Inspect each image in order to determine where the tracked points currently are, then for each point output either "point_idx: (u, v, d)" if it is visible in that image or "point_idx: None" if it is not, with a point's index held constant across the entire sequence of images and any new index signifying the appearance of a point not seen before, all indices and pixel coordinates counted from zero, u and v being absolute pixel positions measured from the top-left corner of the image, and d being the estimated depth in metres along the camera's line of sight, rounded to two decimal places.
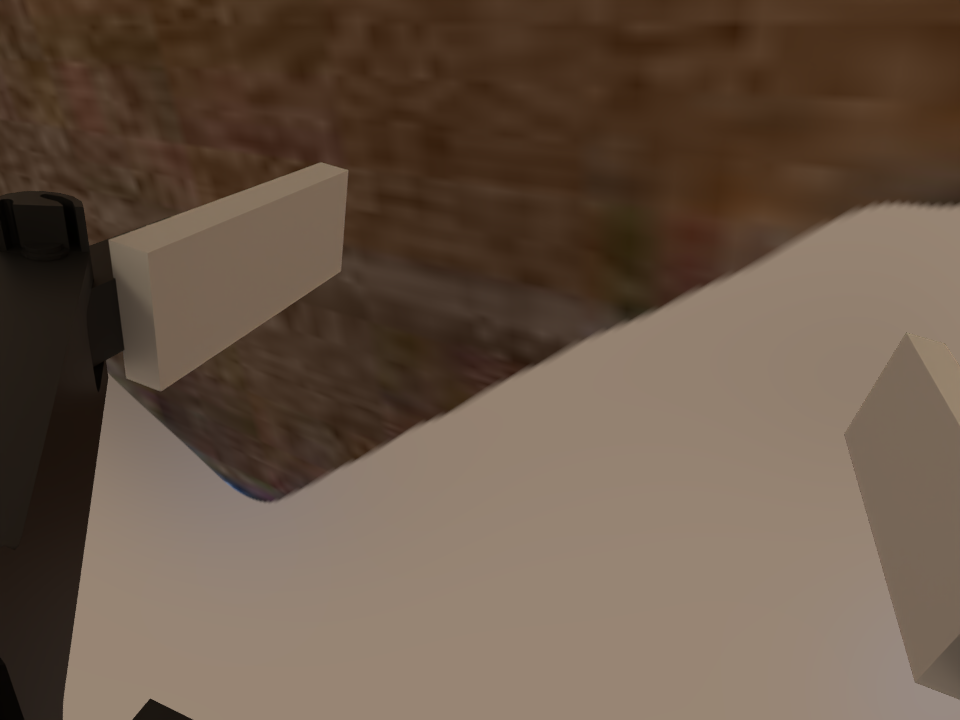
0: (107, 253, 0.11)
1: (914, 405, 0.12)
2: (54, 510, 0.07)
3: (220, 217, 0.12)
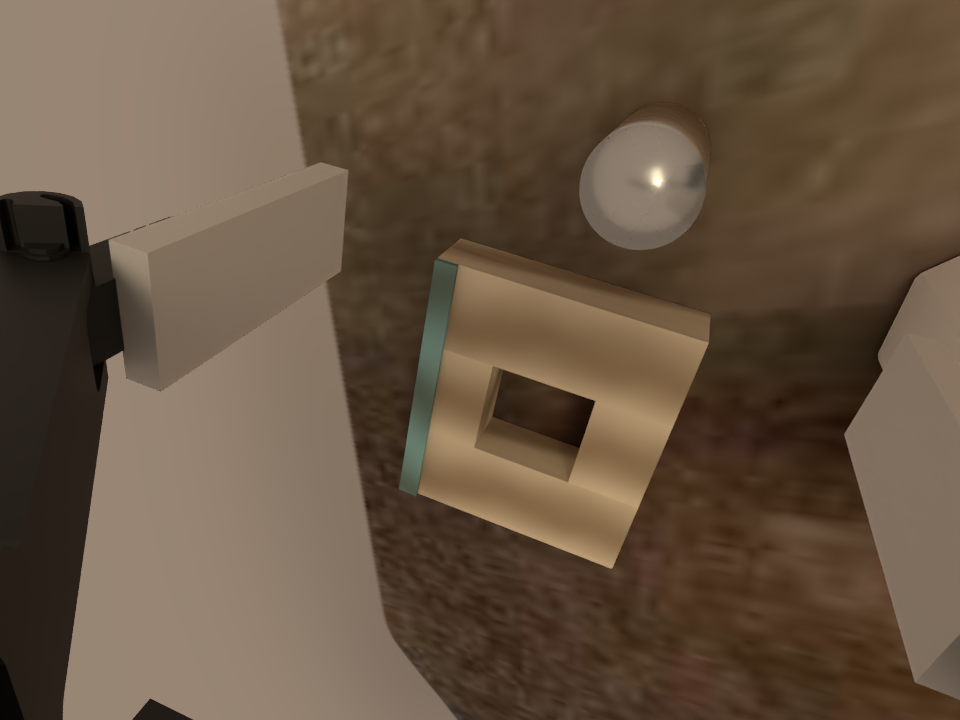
0: (107, 253, 0.11)
1: (914, 405, 0.12)
2: (54, 510, 0.07)
3: (220, 217, 0.12)
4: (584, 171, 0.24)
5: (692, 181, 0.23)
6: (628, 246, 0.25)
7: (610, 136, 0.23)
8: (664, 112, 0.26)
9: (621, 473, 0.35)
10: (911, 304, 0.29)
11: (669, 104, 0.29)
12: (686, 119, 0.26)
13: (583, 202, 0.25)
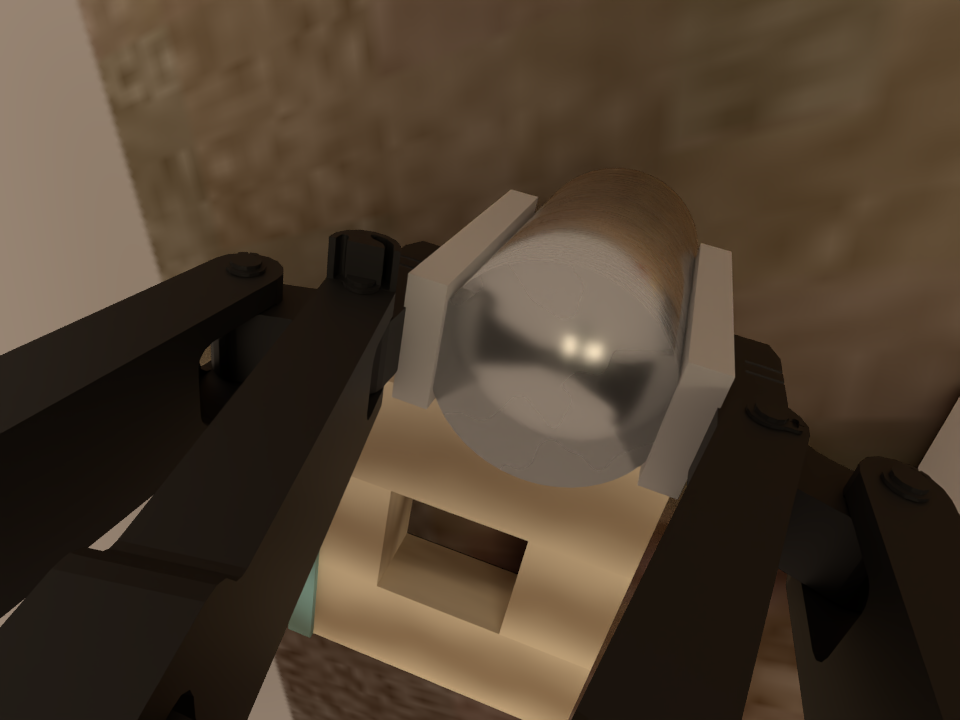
0: None
1: None
2: (290, 537, 0.07)
3: (475, 248, 0.13)
4: None
5: (650, 382, 0.11)
6: (525, 476, 0.13)
7: (483, 276, 0.11)
8: (611, 205, 0.14)
9: (567, 628, 0.26)
10: None
11: (628, 176, 0.16)
12: (652, 218, 0.14)
13: (438, 389, 0.12)
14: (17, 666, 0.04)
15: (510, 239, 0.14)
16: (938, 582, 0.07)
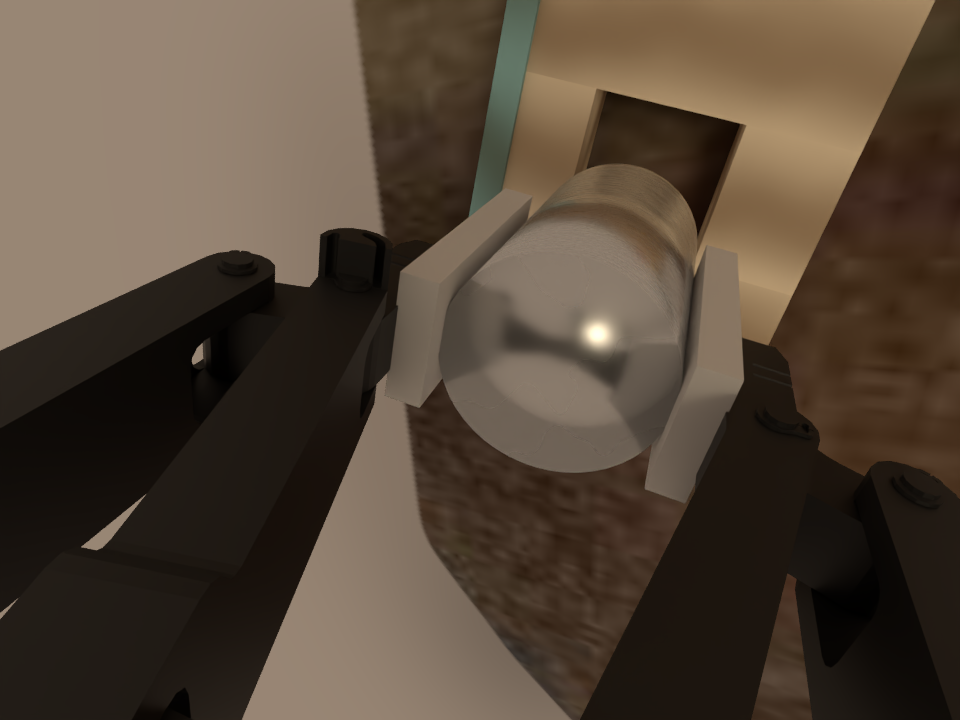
0: None
1: (694, 297, 0.14)
2: (284, 535, 0.07)
3: (468, 246, 0.13)
4: (446, 325, 0.12)
5: (654, 368, 0.11)
6: (532, 462, 0.13)
7: (492, 267, 0.11)
8: (614, 199, 0.14)
9: (773, 241, 0.25)
10: None
11: (629, 171, 0.17)
12: (654, 212, 0.14)
13: (447, 378, 0.13)
14: (12, 666, 0.04)
15: (516, 232, 0.14)
16: (950, 588, 0.07)
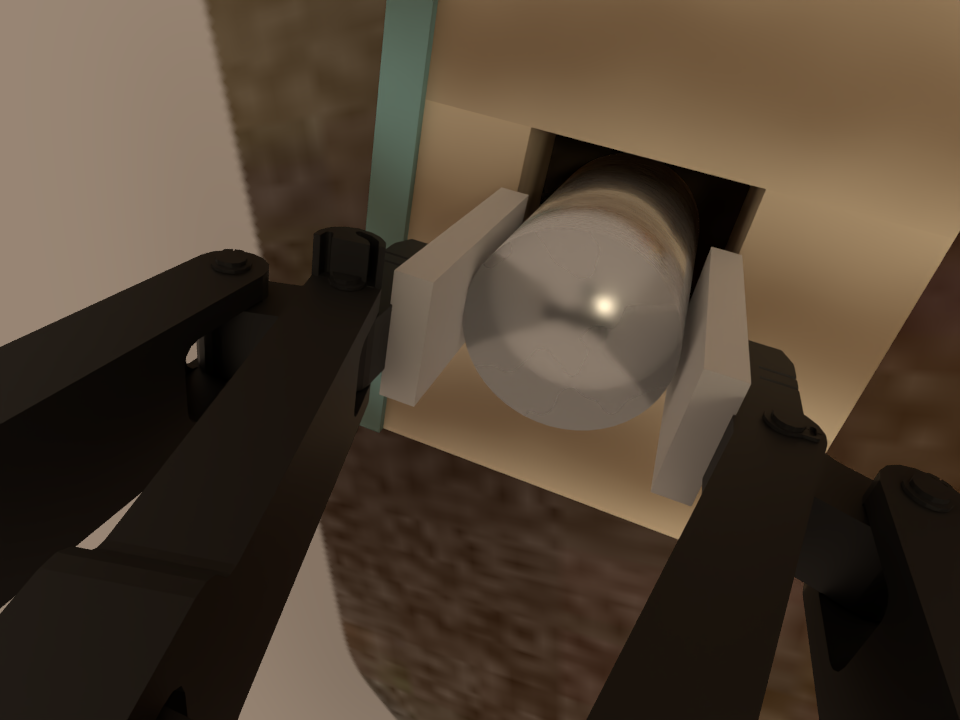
0: None
1: (699, 298, 0.14)
2: (279, 534, 0.07)
3: (463, 245, 0.13)
4: (470, 296, 0.14)
5: (657, 333, 0.13)
6: (546, 421, 0.14)
7: (512, 242, 0.13)
8: (622, 184, 0.16)
9: (805, 363, 0.16)
10: None
11: (636, 160, 0.18)
12: (658, 196, 0.16)
13: (470, 344, 0.14)
14: (7, 666, 0.04)
15: (532, 214, 0.15)
16: (959, 593, 0.07)
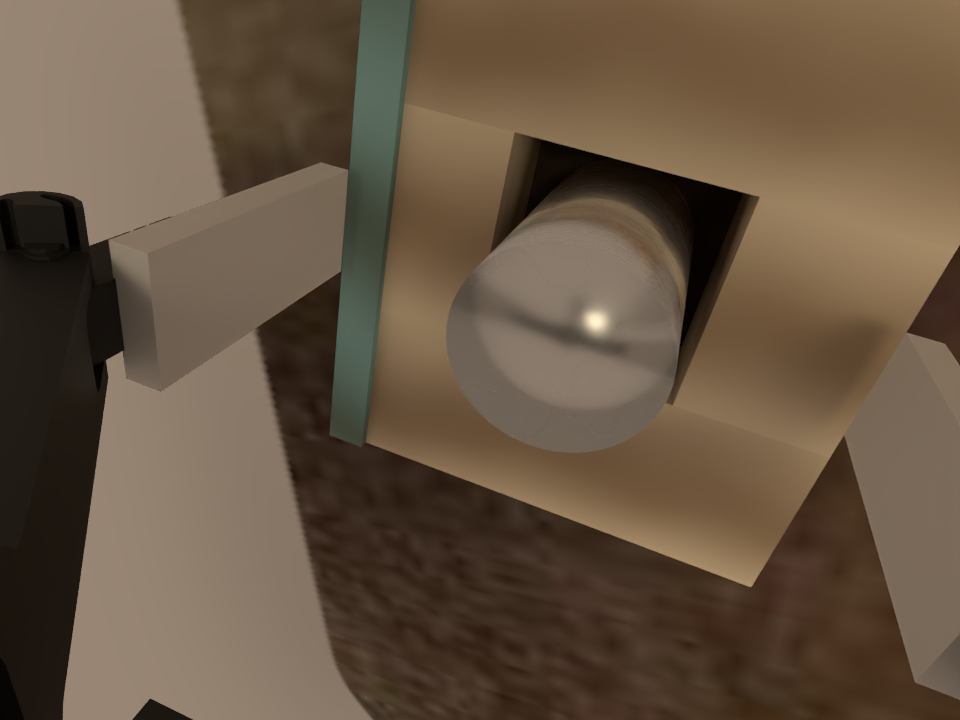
0: (108, 253, 0.11)
1: (914, 405, 0.12)
2: (54, 510, 0.07)
3: (220, 217, 0.12)
4: (453, 312, 0.13)
5: (651, 352, 0.12)
6: (535, 443, 0.14)
7: (497, 256, 0.12)
8: (613, 192, 0.15)
9: (802, 378, 0.16)
10: None
11: (628, 166, 0.17)
12: (651, 205, 0.15)
13: (455, 363, 0.13)
14: None
15: (519, 224, 0.15)
16: None
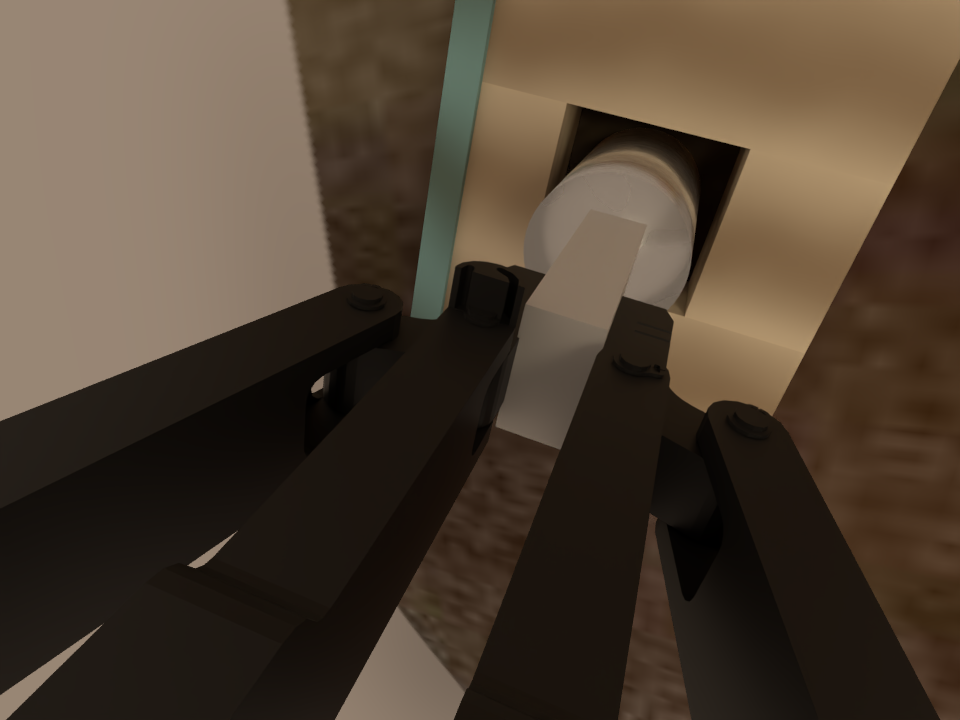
0: None
1: None
2: (378, 575, 0.07)
3: (579, 275, 0.13)
4: (530, 228, 0.18)
5: (673, 251, 0.17)
6: None
7: (565, 185, 0.17)
8: (641, 147, 0.20)
9: (782, 289, 0.21)
10: None
11: (650, 132, 0.23)
12: (670, 157, 0.20)
13: (529, 267, 0.19)
14: (97, 683, 0.04)
15: (573, 170, 0.20)
16: (780, 512, 0.08)
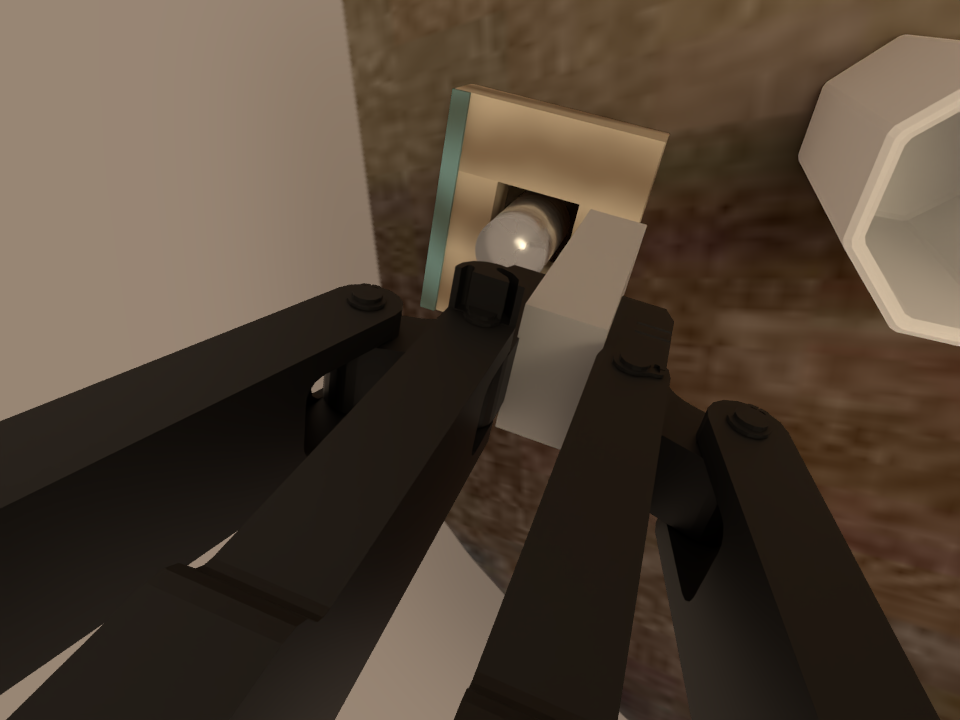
0: None
1: None
2: (378, 575, 0.07)
3: (579, 275, 0.13)
4: (477, 241, 0.41)
5: (537, 251, 0.40)
6: None
7: (491, 222, 0.40)
8: (531, 202, 0.43)
9: None
10: (818, 105, 0.38)
11: None
12: (545, 207, 0.43)
13: (477, 258, 0.42)
14: (98, 683, 0.04)
15: None
16: (780, 512, 0.08)
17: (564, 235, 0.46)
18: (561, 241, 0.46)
